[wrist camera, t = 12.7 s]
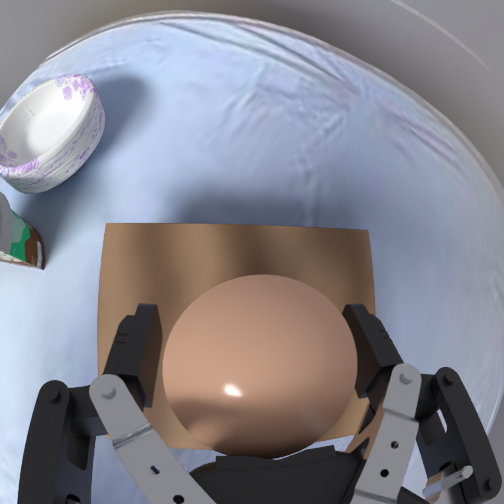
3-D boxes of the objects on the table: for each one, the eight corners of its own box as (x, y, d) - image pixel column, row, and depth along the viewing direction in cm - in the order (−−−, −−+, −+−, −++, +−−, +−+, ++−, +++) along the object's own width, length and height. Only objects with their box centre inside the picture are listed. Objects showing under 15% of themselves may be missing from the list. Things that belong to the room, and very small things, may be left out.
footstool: (134, 409, 22) (105, 437, 14) (135, 250, 26) (106, 223, 18) (334, 406, 24) (371, 429, 17) (331, 254, 28) (368, 230, 21)
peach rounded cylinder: (198, 381, 16) (168, 458, 6) (197, 301, 18) (163, 271, 7) (280, 381, 17) (352, 446, 6) (279, 302, 18) (355, 274, 8)
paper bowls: (129, 108, 30) (116, 65, 23) (86, 211, 26) (53, 178, 19) (49, 112, 29) (29, 79, 22) (6, 201, 25) (-27, 175, 18)
